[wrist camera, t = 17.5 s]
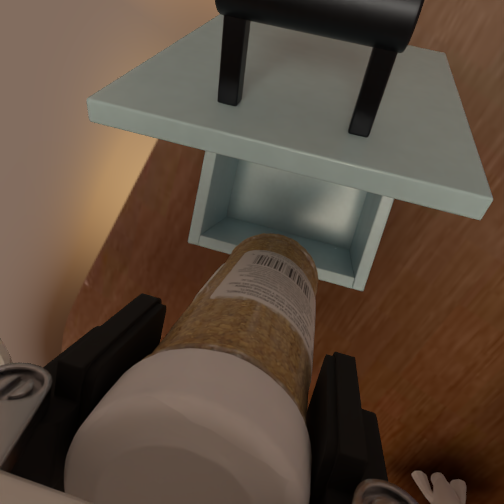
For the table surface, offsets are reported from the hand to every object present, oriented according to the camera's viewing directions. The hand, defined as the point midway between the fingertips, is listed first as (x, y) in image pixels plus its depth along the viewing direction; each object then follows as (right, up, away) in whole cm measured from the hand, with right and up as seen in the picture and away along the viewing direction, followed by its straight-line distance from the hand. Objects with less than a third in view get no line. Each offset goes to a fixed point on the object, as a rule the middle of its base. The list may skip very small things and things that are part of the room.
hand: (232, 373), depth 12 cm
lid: (+3, +11, +7) cm, 13 cm away
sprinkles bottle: (+2, +2, +9) cm, 9 cm away
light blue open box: (+5, +11, +23) cm, 26 cm away
